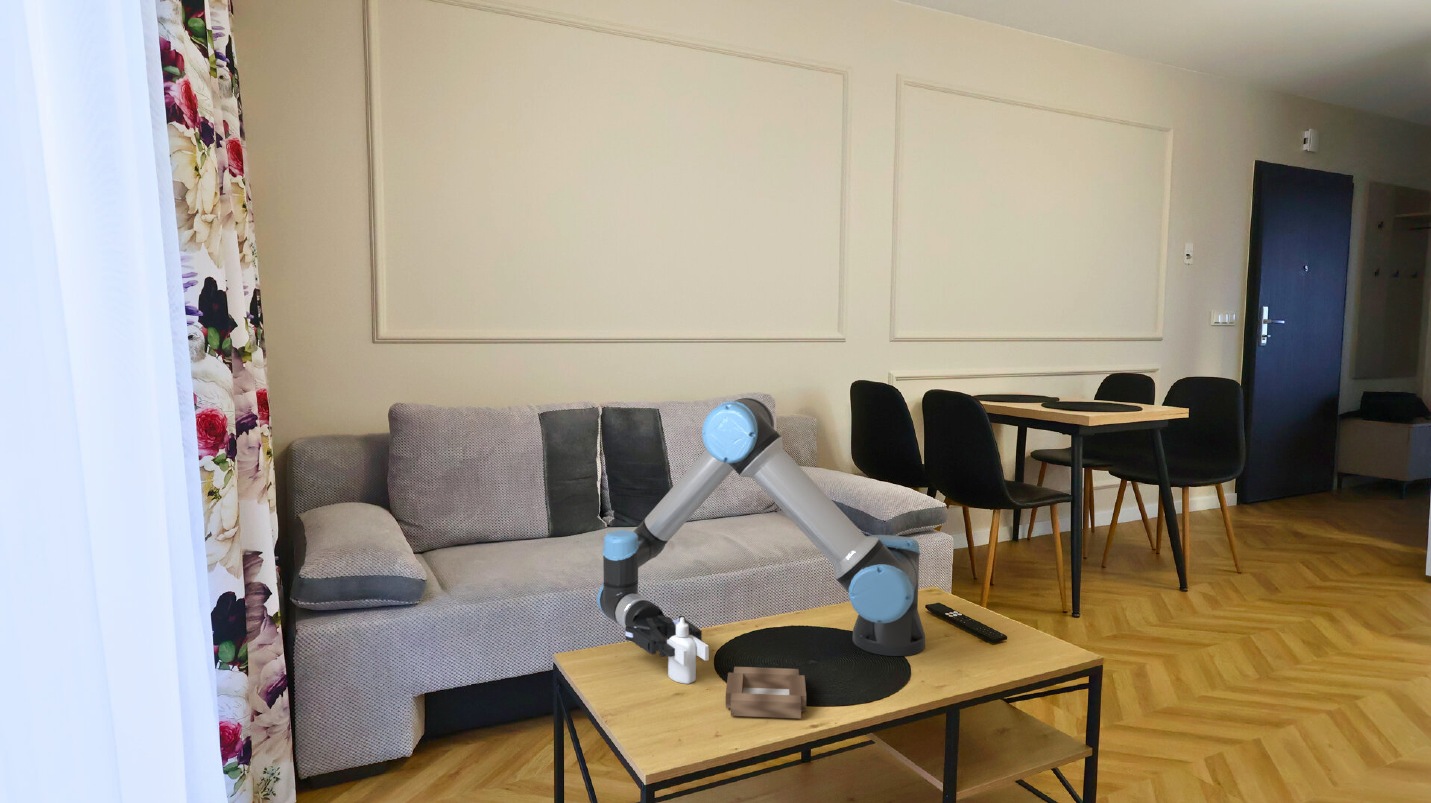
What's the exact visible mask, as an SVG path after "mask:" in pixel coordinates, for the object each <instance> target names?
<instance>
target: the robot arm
mask: <svg viewBox="0 0 1431 803" xmlns="http://www.w3.org/2000/svg"><path fill="white" fill-rule="evenodd" d="M701 433H702V434H701V435H702V442H703V446H704V447H705V450H704V452H702V454H701V455H700V456H699V457H698V458H697V459H696V460H695V461H694V463H693V464H692V465H691V466H689V468H688V469H687V471H686V472H685V473H684V474H683V475H682V476H681V477H680V478H679V480H678V481H677V482H676V483H675V484H674V485H673V486H672V487H671V488H670V490H669V491H668V492H667V493H666V494H665V495H664V496H663V498H662V499H661V500H660V501H659V502H658V503H657V504H656V505H655V507H653V509H652V510H651V511H650V512H649V514H647V516H646V517H645V518H644V520H642V521H641V522H640V523H639V524H638V526H637V527H636V528H635V529H634V530H633V531H632V530H628V529H627V530H626V529H622V530H621V529H619V530H618V529H617V530H614V531H609V532H607V533H606V534H604V537H603V546H602V547H603V548H602V555H603V556H602V558H603V565H602V566H603V583H602V585H601V586H600V587H599V590H598V592H597V595H596V603H597V604H596V605H597V607H598V609H599V610H600V611H601V612H603V614H604V616H605V617H607V618H608V619H610V620H612V621H613V622H615V623H617V624H618V626H621V627H622V628H623V629H625V632H624V633H625V635H624V636H625V640H626V641H629V642H631V643H634V644H635V645H636V646H638V647H640V648H641V649H643V650H644V651H645V652H646V653H648V654H651V655H655V654H656V653H657V652H658V653H659V657H660V658H666V656H667V657H668V656H669V657H672V658H674V659H675V660H676V661H678V662H679V663H680V664H682V665H683V666H685V665H687V650H686V649H684V648H683V647H681V646H680V645H678V644H677V643H676V642H674V641H673V640H671V639H669V638H670V637H672V636H674V635H676V624H678V623H679V622H680V618H681V617H684V620H685V623H687V624H688V625H689V635H688V636H689V637H690V638H692V639H693V641H694V642H695V644H696V657H699V659H700V658H701V659H702V660H704V662H705V661H709V659H710V658H709V657H710V654H709V653H710V650H709V649H710V646H709V645H708V644H706V643H705V641H703V639H702V638H703V637H702V635H703V634H702V632H703V631H702V630H701V629H699V627H697V626H695V624H694V623H691V622H690V621H688V620H687V619H686V617H685V616H684V615H679V616H678V618H676V619H672V618H671V616H665V613H664V612H663V610H662V609H661V607H660V606H658V605H656V604H655V603H653V602H652V601H650V600H649V599H647V598H645V597H644V596H643V595H641V594H639V568H640V567H641V566H643V565H644V564H646V563H648V562H649V561H650V560H652V559H654V558H657V557H658V555H660V554H661V553H662V552H663V551H664V549H665V547H666V545H667V544H668V542H669V541H670V540H671V539H672V538H673V537H674V535H675V534H676V533H677V532H678V531H679V530H680V529H681V528H682V527H683V526H684V525H685V524H686V522H687V521H688V520H689V519H690V518H691V517H692V516H693V515H694V514H695V513H696V511H697V510H698V509H699V508H700V507H701V506H702V505H703V504H704V503H705V502H706V500H707V499H709V497H710V496H711V495H712V494H713V492H714V491H716V490H717V488H718V487H719V486H720V485H721V484H722V483H723V482H724V481H725V480H726V478H727V477H728V476H729V475H730V474H731V473H732V472H733V471H735V472H736V473H737V475H739V477H740V478H750V479H753V481H754V482H755V483H756V485H758V486H759V488H761V489H762V491H763V492H765V494H767V496H768V497H769V498H770V499H771V500H772V501H773V502H774V503H775V505H777V507H778V508H779V509H780V510H781V511H782V512H783V513H784V514H785V515H786V516H787V517H788V518H789V520H791V521H792V523H794V525H795V526H796V527H797V528H798V529H799V530H800V531H801V532H802V534H804V535H805V536H806V538H807V539H808V540H809V541H810V542H811V543H812V544H813V545H814V546H815V547H816V548H817V550H818V551H819V552H820V553H821V554H822V555H823V556H824V557H825V558H826V559H827V560H828V561H829V563H831V565H833V568H834V578H835V580H837V582H838V583H839V584H840V585H841V587H843V588H844V590H845V591H846V592H847V593H848V598H849V601H850V605H851V606H852V608H853V609H854V611H855V612H856V613H857V614H858V615H857V618H856V620H855V623H854V626H853V629H852V642H853V644H854V645H855V646H856V647H858V648H859V649H861V650H863V651H865V652H868V653H872V654H875V655H879V656H880V655H881V656H888V657H905V656H911V655H916V654H919V653H921V652H923V650H925V649H926V648H925V647H926V633H925V631H924V627H923V624H922V620H921V616H920V614H919V608H918V606H919V605H918V603H919V580H920V579H919V578H920V577H919V576H920V556H921V551H920V543H919V541H918V540H917V539H914V538H911V537H907V536H901V535H900V536H898V535H888V534H872V535H868V536H867V535H865V534H864V533H863V532H862V530H861V529H859V528H858V526H857V525H855V523H854V522H853V521H852V520H850V518H849V517H848V516H847V515H846V514H845V512H843V511H842V509H840V507H838V506H837V504H835V502H834V501H833V500H832V499H831V498H830V497H829V496H828V494H826V492H824V491H823V490H822V489H821V488H820V487H819V485H818V484H817V483H816V482H815V481H814V480H813V479H812V478H811V477H810V476H809V475H808V474H807V472H805V471H804V470H803V469H802V467H800V466H799V465H798V463H796V461H795V460H794V459H793V457H791V456H790V455H789V454H788V452H786V450H784V448H783V437H782V435H781V434H779V432H777V430H776V429H775V419H774V416H773V414H772V412H771V410H770V409H769V408H768V406H767V405H766V404H765V403H763V401H760V400H759V399H756V398H752V397H741V398H739V399H735V400H732V401H730V400H729V401H725V402H722V403H720V404H719V405H717V406H716V407H715V408H713V409H711V411H710V412H709V413H708V414H707V416H706V417H705V419H704V422H703V424H702V432H701Z"/></svg>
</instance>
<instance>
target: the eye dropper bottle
mask: <svg viewBox="0 0 1431 803" xmlns="http://www.w3.org/2000/svg"><path fill="white" fill-rule="evenodd" d="M684 617H685V616H684ZM684 617H681V618H680V622H679V623H678V624H676V635H674V636H672V637H670V638H669V639H671V640H673V641H674V642H676V643H677V644H678V645H680V646H681V647H683V648H684V649H686V650H687V665H685V666H683V665H682V664H680V663H679V662H678V661H676V660H675V659H674V658H672V657H669V656H667V676H668V678H670V679H671V680H672V681H673V682H676V683H680V684H684V685H685V684H686V685H689V684H691V683H693V682H695V681H696V678H697V677H696V676H697V672H696V670H697V669H696V667H697V666H696V665H697V655H696V644H695V642H694V641H693V639H692V638H690V637H689V636H688V635H689V625H688V624H687V623H685V620H684ZM669 639H668V640H669Z"/></svg>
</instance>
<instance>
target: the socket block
mask: <svg viewBox="0 0 1431 803" xmlns="http://www.w3.org/2000/svg"><path fill="white" fill-rule="evenodd" d="M726 681H727V682H726V688H725V689H726V690H725V709H730V716H733V717H757V718H759V717H760V718H778V719H779V718H780V719H781V718H782V719H783V718H785V719H801V718H802V712H806V711H807V691H806V690H807V689H806V678H805V675H804V674H803V675H801V674H800V671H799V668H783V667H779V668H778V667H777V668H776V667H755V666H754V667H752V666H734V667H733V672H727V680H726Z"/></svg>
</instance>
